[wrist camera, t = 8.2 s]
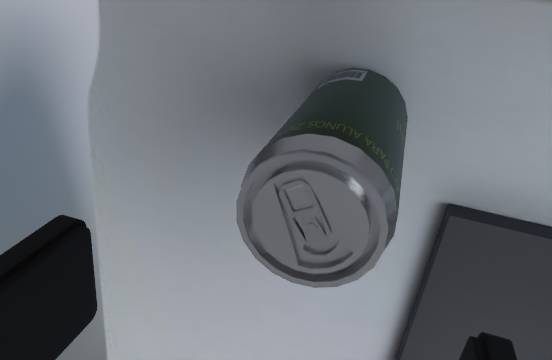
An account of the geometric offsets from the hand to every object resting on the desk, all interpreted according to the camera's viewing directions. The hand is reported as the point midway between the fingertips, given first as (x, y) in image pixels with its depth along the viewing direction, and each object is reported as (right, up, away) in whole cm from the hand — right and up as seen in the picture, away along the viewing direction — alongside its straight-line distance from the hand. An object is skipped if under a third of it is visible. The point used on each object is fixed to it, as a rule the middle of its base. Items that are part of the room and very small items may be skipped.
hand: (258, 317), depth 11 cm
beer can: (+5, +7, +14) cm, 16 cm away
